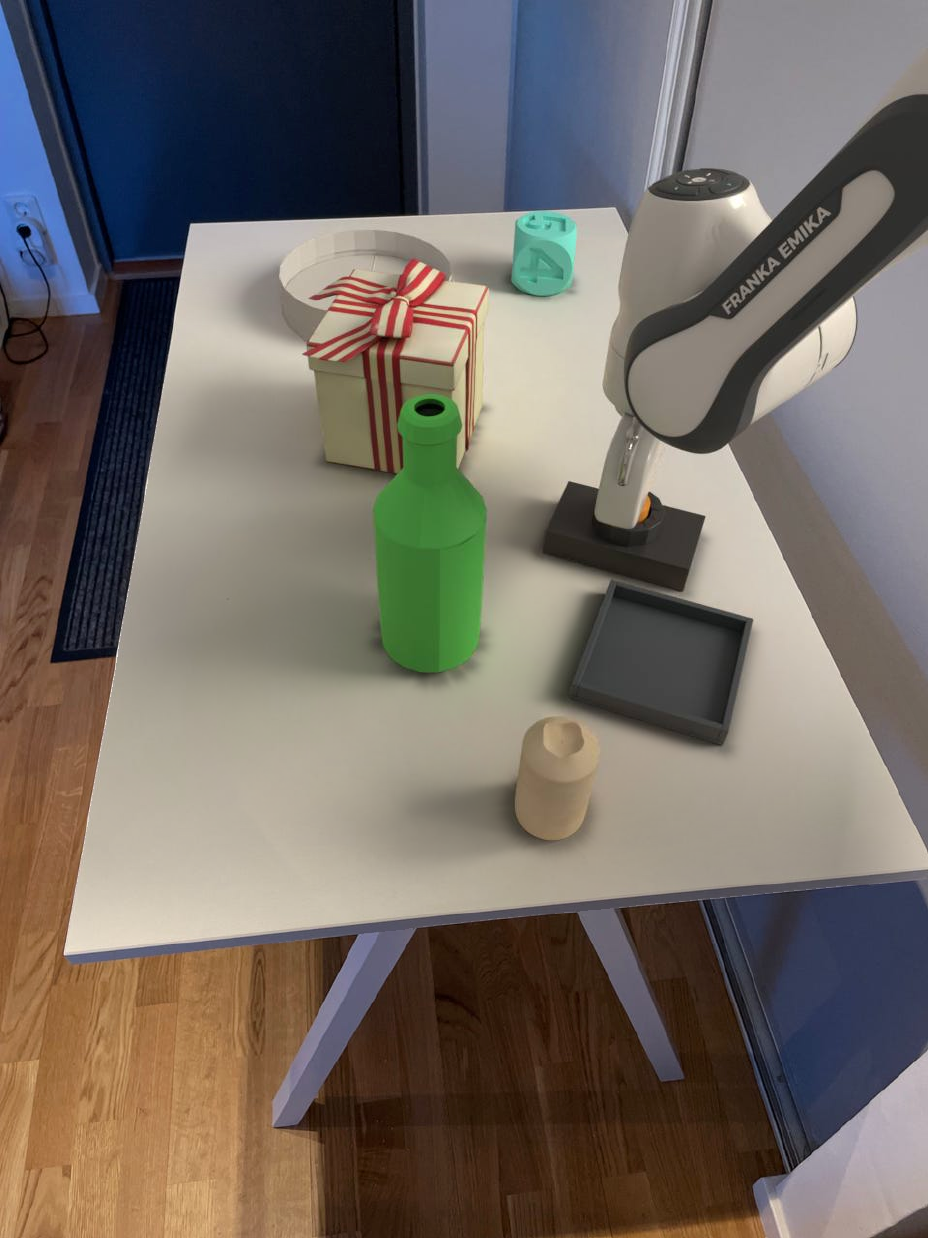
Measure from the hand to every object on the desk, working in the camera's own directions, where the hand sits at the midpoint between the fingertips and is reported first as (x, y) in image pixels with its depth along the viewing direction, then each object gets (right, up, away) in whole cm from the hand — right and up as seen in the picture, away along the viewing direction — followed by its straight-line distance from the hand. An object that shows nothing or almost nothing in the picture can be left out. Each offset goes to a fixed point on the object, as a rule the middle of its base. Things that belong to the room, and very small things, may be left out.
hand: (631, 499), depth 87 cm
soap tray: (+2, -15, -6) cm, 16 cm away
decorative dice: (-5, +35, +39) cm, 52 cm away
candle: (-9, -26, -15) cm, 32 cm away
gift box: (-24, +9, +15) cm, 30 cm away
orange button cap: (0, -1, +2) cm, 2 cm away
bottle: (-19, -13, -4) cm, 23 cm away
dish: (-28, +29, +33) cm, 53 cm away
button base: (0, -4, +4) cm, 6 cm away
